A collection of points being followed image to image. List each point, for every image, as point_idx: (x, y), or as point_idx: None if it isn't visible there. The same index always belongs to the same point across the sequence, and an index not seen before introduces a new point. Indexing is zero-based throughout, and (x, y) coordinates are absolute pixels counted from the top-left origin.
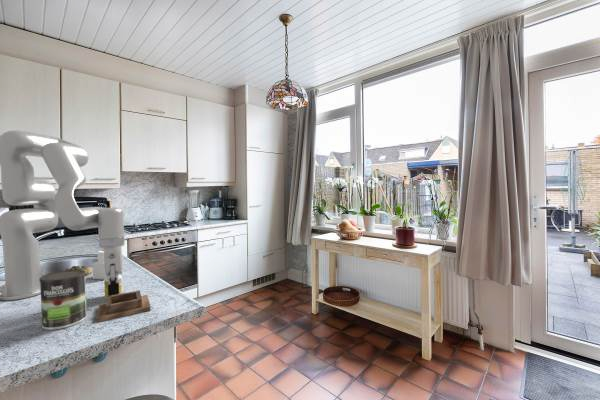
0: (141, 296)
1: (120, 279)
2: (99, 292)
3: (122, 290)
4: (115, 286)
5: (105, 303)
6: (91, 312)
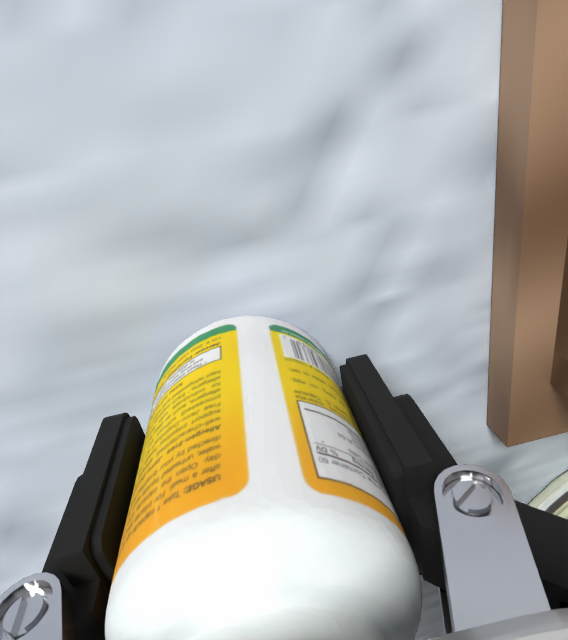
0: (564, 8)
1: (334, 491)
2: (44, 549)
3: (227, 344)
4: (446, 455)
5: (532, 400)
6: (559, 440)
